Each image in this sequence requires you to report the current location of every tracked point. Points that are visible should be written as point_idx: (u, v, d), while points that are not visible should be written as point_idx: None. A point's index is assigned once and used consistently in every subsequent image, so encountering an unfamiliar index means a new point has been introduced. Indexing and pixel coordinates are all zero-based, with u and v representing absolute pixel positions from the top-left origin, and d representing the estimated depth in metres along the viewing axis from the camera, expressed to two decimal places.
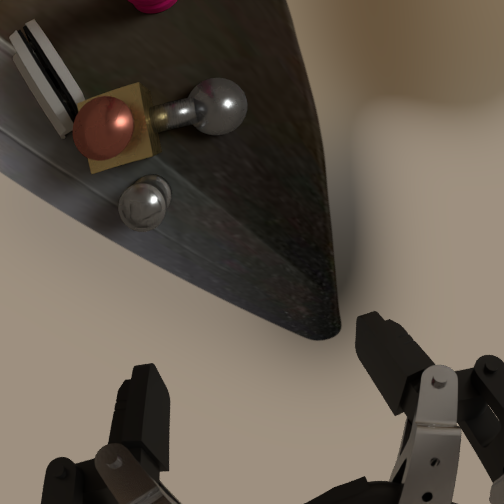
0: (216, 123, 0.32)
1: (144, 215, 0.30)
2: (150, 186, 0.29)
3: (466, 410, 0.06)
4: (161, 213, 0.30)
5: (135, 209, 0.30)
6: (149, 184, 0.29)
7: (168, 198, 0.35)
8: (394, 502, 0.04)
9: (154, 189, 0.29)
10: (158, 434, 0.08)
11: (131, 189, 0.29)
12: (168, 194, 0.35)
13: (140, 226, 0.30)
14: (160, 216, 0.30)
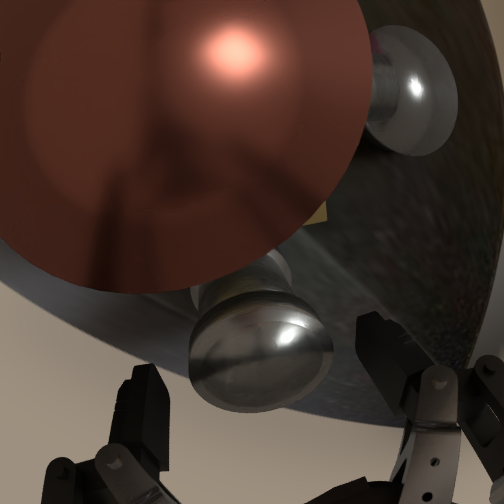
0: (412, 129, 0.12)
1: (268, 383, 0.10)
2: (301, 316, 0.09)
3: (466, 410, 0.06)
4: (317, 375, 0.11)
5: (245, 373, 0.10)
6: (294, 306, 0.10)
7: None
8: (394, 502, 0.04)
9: (312, 323, 0.09)
10: (157, 434, 0.08)
11: (236, 326, 0.09)
12: None
13: (253, 404, 0.11)
14: (312, 381, 0.11)
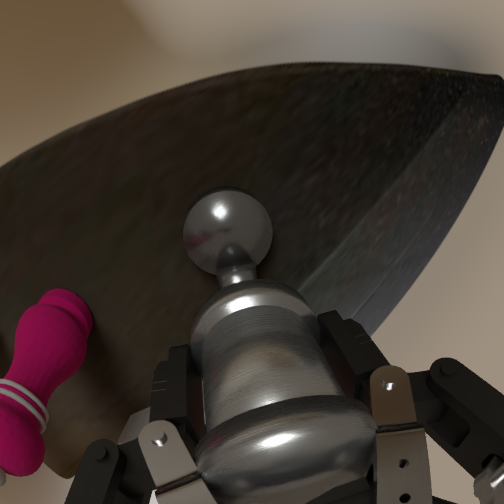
0: (255, 234, 0.24)
1: (300, 491, 0.06)
2: (357, 433, 0.05)
3: (422, 413, 0.07)
4: (360, 474, 0.07)
5: (273, 488, 0.06)
6: (347, 420, 0.06)
7: None
8: None
9: (370, 437, 0.06)
10: (196, 412, 0.09)
11: (266, 458, 0.05)
12: None
13: None
14: (353, 479, 0.07)
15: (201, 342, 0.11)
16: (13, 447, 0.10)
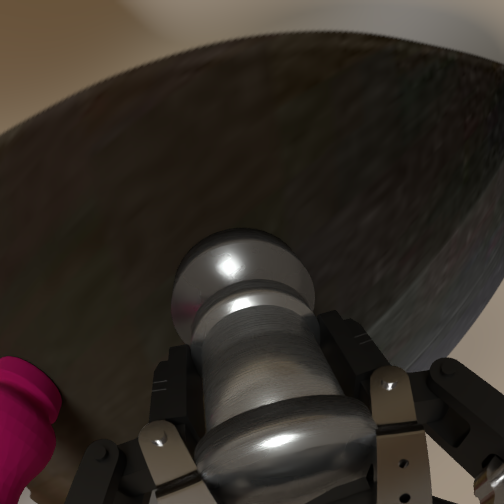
0: None
1: (300, 491, 0.06)
2: (357, 433, 0.05)
3: (422, 413, 0.07)
4: (360, 474, 0.07)
5: (273, 489, 0.06)
6: (347, 420, 0.06)
7: None
8: None
9: (370, 437, 0.06)
10: (196, 412, 0.09)
11: (265, 458, 0.05)
12: None
13: None
14: (353, 479, 0.07)
15: (201, 342, 0.11)
16: None
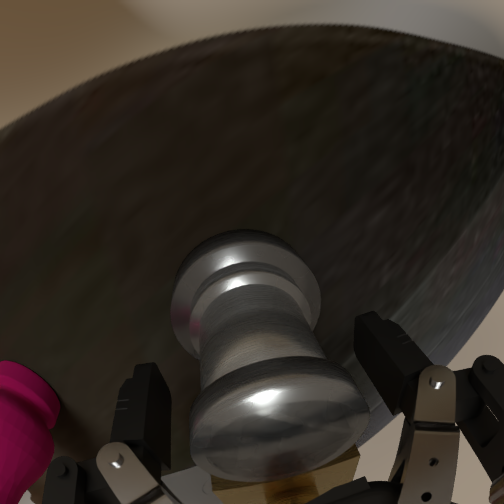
0: None
1: (288, 457, 0.07)
2: (337, 391, 0.06)
3: (464, 410, 0.06)
4: (346, 443, 0.08)
5: (261, 451, 0.07)
6: (327, 379, 0.07)
7: None
8: (393, 502, 0.04)
9: (349, 398, 0.07)
10: (159, 433, 0.08)
11: (252, 411, 0.06)
12: None
13: (269, 474, 0.08)
14: (340, 448, 0.08)
15: (198, 319, 0.12)
16: None
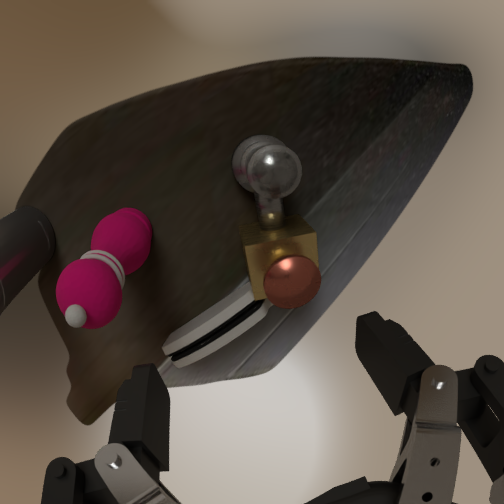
0: None
1: (277, 180, 0.28)
2: (287, 148, 0.27)
3: (466, 410, 0.06)
4: (296, 179, 0.28)
5: (268, 172, 0.27)
6: None
7: None
8: (394, 502, 0.04)
9: (291, 152, 0.27)
10: (158, 434, 0.08)
11: (265, 150, 0.27)
12: None
13: (271, 192, 0.28)
14: (295, 182, 0.28)
15: (245, 158, 0.32)
16: (104, 286, 0.21)
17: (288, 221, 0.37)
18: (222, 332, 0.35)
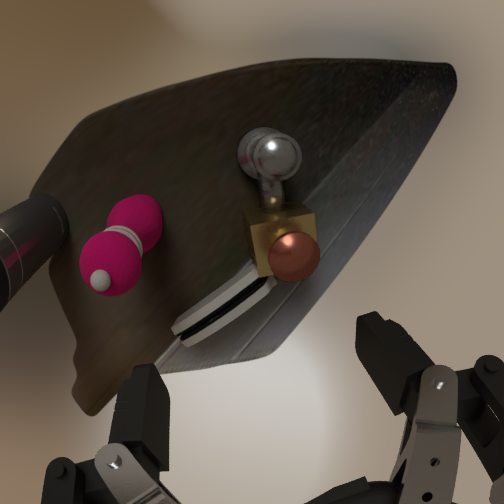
0: None
1: (280, 164, 0.31)
2: (288, 137, 0.30)
3: (466, 410, 0.06)
4: (297, 163, 0.31)
5: (272, 157, 0.31)
6: (286, 135, 0.30)
7: None
8: (394, 502, 0.04)
9: (292, 140, 0.30)
10: (157, 434, 0.08)
11: (270, 137, 0.30)
12: None
13: (274, 175, 0.32)
14: (295, 166, 0.31)
15: (249, 147, 0.35)
16: (127, 253, 0.24)
17: (288, 205, 0.40)
18: (229, 308, 0.38)
